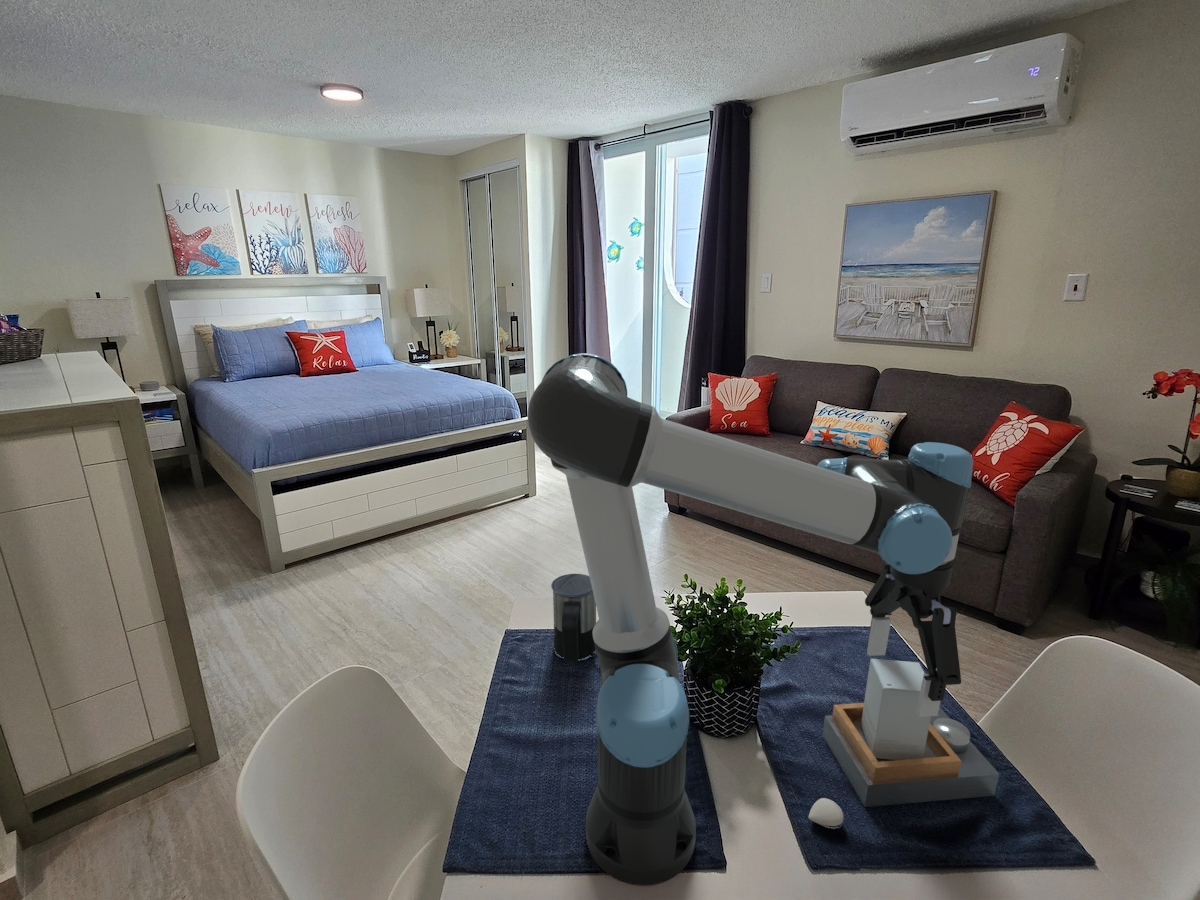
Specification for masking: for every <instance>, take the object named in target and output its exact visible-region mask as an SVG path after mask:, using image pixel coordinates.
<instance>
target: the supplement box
mask: <svg viewBox="0 0 1200 900" xmlns="http://www.w3.org/2000/svg"><path fill="white" fill-rule="evenodd" d="M924 674H926V673H925V671H924V669H923V667H922V666H921V663H920V662H918V661H907V660H906V661H903V660H895V659H893V660H892V659H878V658H870V661H869V667H868V674H867V681H866V687H865V694H864V701H863V703H864V708H863V714H862V721H861V726H862V729H863V732H864V735H865V738H866V741H867V743H868V746H869V749H870V750H871V752H872V753H873V755H874V756H875V758H881V759H890V760H908V759H920V758H923V757H924V752H925V746H926V740H927V735H928V729H929V724H930V718H931V716H927V717H919V716H918V715H917V714H916V710H917V705H918V700H919V695H920V690H921V685H922V680H923V675H924Z"/></svg>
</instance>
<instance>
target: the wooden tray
mask: <svg viewBox="0 0 1200 900" xmlns="http://www.w3.org/2000/svg"><path fill="white" fill-rule="evenodd" d="M863 708H864V702H856V703H855V702H854V703H841V704H833V708H832V715H829V714H828V715H824V719H823V720H824V721H823V728H822V735H821V736H822V737H823V739H824V740H825V742H826V743H827V746H828V747H829V749H830V751H831V752H832V755H833V756H834V758H835V759H836V761H837V763H838V765H839V766H840V768H841V770H842V772H843V774H844V775H845V776H846V778H847V779H848V781H849V783H850V784H851V786H852V788H853V790H854V791H855V793H856V795H857V797H858V798H859V800H860V801H861V803H862V805H863V807H864V808H869V807H882V806H890V805H892V806H893V805H901V804H902V805H903V804H904V805H905V804H913V803H914V804H916V803H924V802H925V803H926V802H936V801H937V802H938V801H948V800H949V801H950V800H959V799H972V798H981V797H982V798H983V797H993V796H995V795H996V791H997V786H998V783H999V778H1000V773H999V772H998V770H996V768H995V767H994V766H993V765H992V764H991V763H990V761H988V759H987V758H986V757H985V756H984V755H983V754H982V753H981V751H979V749H978V748H977V747H976V746H975V744H974V743H972V741H971V740H970V739H971V732H970V730H969V729H968V727H966V726H965V725H964V724H963V723H962V722H961V721H960V722H959V721H958V720H955V719H952V718H951V717H949V715H948V714H947V713H946V712H945V711H944V710H943V709H942V707H941V706H940V707H939V711H938V716H931V718H930V724H929V729H928V735H927V740H926V746H925V752H924V757H923V758H920V759H908V760H890V759H881V758H875V756H874V755H873V753H872V752H871V750H870V749H869V746H868V743H867V741H866V738H865V735H864V732H863V729H862V726H861V721H862V714H863Z"/></svg>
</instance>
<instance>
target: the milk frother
mask: <svg viewBox="0 0 1200 900" xmlns="http://www.w3.org/2000/svg"><path fill="white" fill-rule="evenodd" d="M550 586H551V590H552V597H553V598H552V599H553V600H552V601H553V602H552V603H553V604H552V605H553V633H554V634H553V646H554V648H555V651H556V652H557V654H559V655H560V656H561V657H564V660H563V661H564V663H566V664H577V663H578V659H582V658H585V657H587V656H589V655H591V656H593V657H592V658H595V659H598V657H597V653H596V654H595V653H593V652H594V651H595V650H596V648H595V644H594V640H593V633H592V632H593V628H594V626H595V624H596V623H597V607H596V603H595V599H594V594H593V590H592V586H591V581H590V577H589V575H587V574H582V573H568V574H563V575H560V576H558V577H557V578H555V579H554V580H552V583H551V584H550Z"/></svg>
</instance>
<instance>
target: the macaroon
mask: <svg viewBox="0 0 1200 900" xmlns="http://www.w3.org/2000/svg"><path fill="white" fill-rule="evenodd" d="M844 816H845V815H844V812H843V810H842V809H841V807H840V806H839V805H838V804H837V802H835V801H833V800H832V799H830V798H826V797H822V798H819V799H817V800H816V801H815V802H814V804H813V805H812V807H811V808H810V811H809V814H808V819H809V820H810V821H812V822H813V823H816V824H818V825H820V826H822V827H825V828H828V829H830V828H831V830H832V829H833V830H836V828H837V829H839V828H841V827H842V826H843V824H844V823H843V822H844ZM840 824H841V826H840V827H829V826H837V825H840Z"/></svg>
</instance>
